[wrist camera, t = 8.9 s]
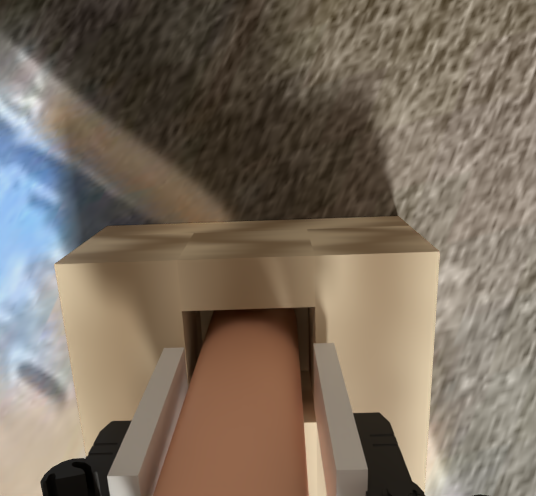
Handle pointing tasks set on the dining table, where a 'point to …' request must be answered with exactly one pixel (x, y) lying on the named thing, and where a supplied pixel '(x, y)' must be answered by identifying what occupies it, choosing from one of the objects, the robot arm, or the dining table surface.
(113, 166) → the dining table surface
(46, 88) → the dining table surface
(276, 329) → the dowel
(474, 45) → the dining table surface
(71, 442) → the dining table surface
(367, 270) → the bore block
